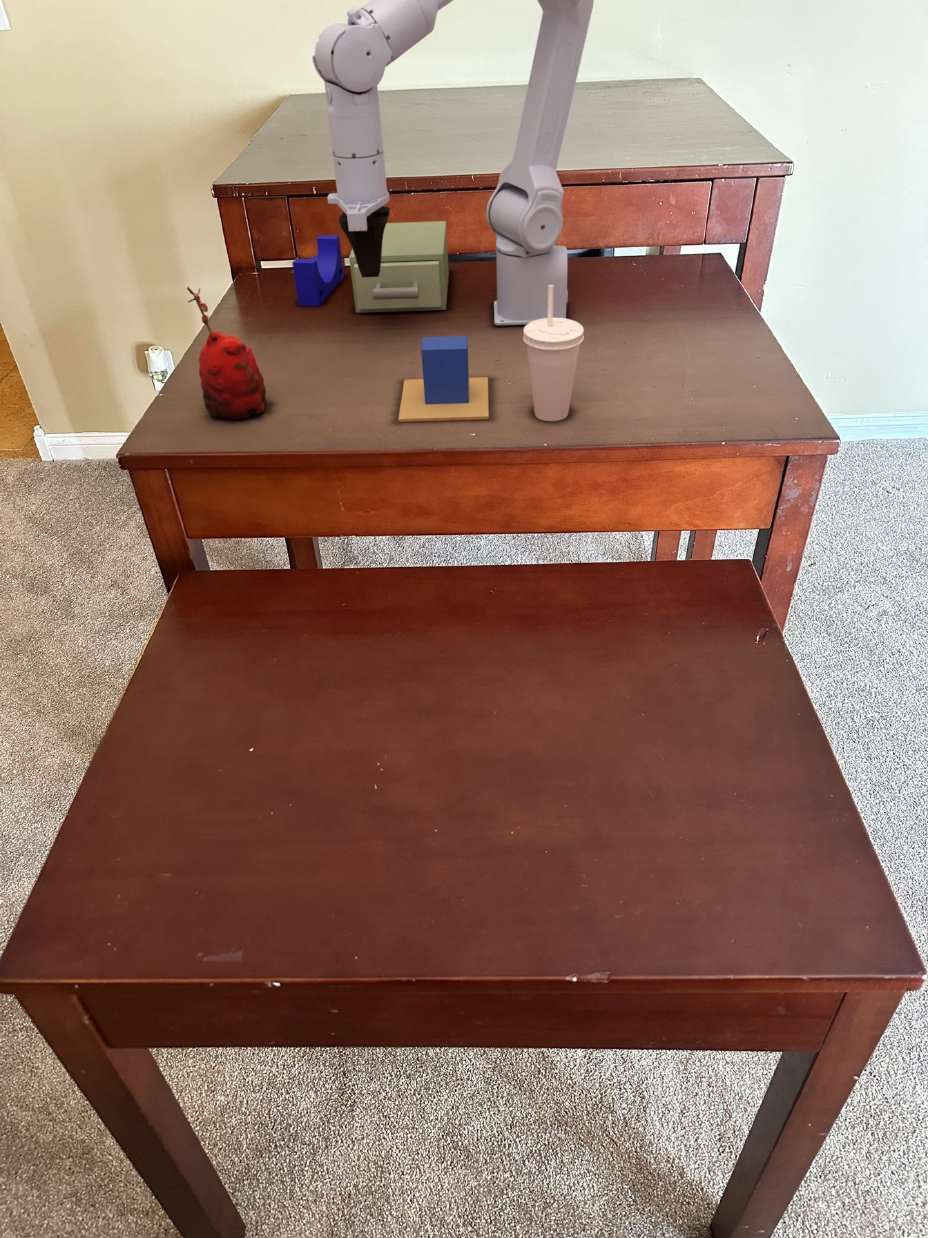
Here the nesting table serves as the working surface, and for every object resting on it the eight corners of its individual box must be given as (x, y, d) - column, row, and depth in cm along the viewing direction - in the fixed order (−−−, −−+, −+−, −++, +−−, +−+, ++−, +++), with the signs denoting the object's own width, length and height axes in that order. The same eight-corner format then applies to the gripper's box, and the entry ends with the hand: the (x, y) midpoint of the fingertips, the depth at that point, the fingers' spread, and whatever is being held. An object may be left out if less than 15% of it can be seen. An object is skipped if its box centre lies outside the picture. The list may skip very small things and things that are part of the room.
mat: (488, 379, 107) (488, 376, 107) (488, 419, 99) (488, 416, 99) (404, 382, 107) (404, 379, 107) (398, 421, 99) (398, 418, 99)
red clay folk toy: (281, 410, 103) (256, 278, 93) (228, 431, 99) (197, 296, 90) (245, 390, 107) (218, 262, 98) (193, 410, 104) (160, 279, 94)
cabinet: (445, 309, 124) (442, 253, 120) (355, 312, 125) (349, 256, 120) (448, 273, 136) (446, 220, 131) (366, 276, 136) (360, 223, 131)
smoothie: (552, 394, 103) (556, 271, 94) (592, 414, 99) (599, 287, 90) (510, 412, 100) (510, 286, 91) (549, 432, 96) (553, 303, 87)
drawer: (439, 318, 120) (437, 274, 116) (355, 320, 120) (350, 277, 116) (444, 272, 133) (441, 232, 130) (367, 275, 134) (363, 234, 130)
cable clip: (316, 275, 137) (310, 234, 133) (344, 276, 136) (339, 235, 132) (289, 304, 128) (282, 261, 124) (319, 305, 127) (312, 262, 123)
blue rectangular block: (469, 389, 104) (467, 335, 100) (469, 403, 101) (467, 348, 97) (426, 391, 104) (422, 337, 100) (425, 404, 102) (421, 349, 97)
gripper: (330, 138, 106) (345, 256, 115) (313, 170, 95) (330, 297, 104) (390, 136, 106) (399, 254, 114) (379, 167, 95) (391, 295, 103)
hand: (370, 275), depth 109 cm, fingers closed
